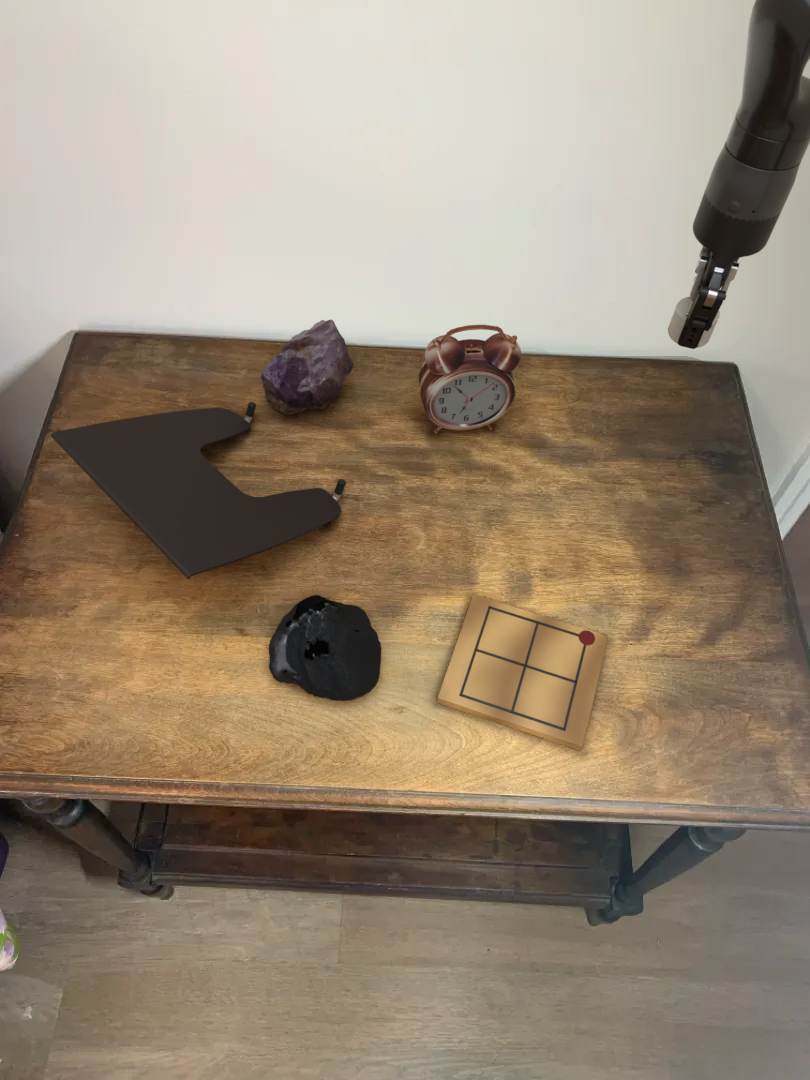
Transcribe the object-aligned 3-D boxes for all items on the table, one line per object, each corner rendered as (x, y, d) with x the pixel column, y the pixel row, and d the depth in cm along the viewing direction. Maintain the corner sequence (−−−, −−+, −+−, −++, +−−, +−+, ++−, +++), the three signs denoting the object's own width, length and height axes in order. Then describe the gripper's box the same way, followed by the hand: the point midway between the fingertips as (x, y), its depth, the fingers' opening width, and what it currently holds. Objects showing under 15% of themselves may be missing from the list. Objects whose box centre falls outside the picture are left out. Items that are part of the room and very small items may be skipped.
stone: (712, 325, 94) (722, 302, 91) (706, 352, 92) (717, 329, 89) (670, 315, 95) (679, 292, 92) (664, 342, 92) (673, 318, 90)
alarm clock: (420, 440, 95) (427, 344, 83) (414, 410, 98) (420, 312, 85) (511, 433, 96) (531, 337, 84) (503, 403, 99) (521, 306, 86)
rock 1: (259, 406, 99) (321, 445, 96) (240, 360, 92) (307, 400, 88) (320, 344, 103) (382, 379, 99) (307, 295, 95) (374, 331, 92)
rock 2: (320, 663, 85) (405, 665, 81) (268, 707, 77) (360, 712, 72) (302, 580, 83) (388, 578, 79) (246, 616, 75) (340, 616, 70)
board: (605, 641, 81) (608, 635, 80) (580, 751, 75) (583, 746, 74) (472, 599, 84) (473, 592, 82) (436, 702, 77) (437, 697, 76)
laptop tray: (342, 562, 92) (368, 499, 87) (174, 632, 75) (194, 559, 70) (219, 448, 101) (235, 385, 96) (43, 488, 84) (52, 414, 79)
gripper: (779, 245, 74) (715, 380, 88) (790, 163, 82) (730, 299, 96) (696, 227, 76) (647, 363, 90) (715, 148, 83) (667, 284, 97)
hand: (690, 329), depth 93 cm, fingers closed on stone, 4 cm apart
